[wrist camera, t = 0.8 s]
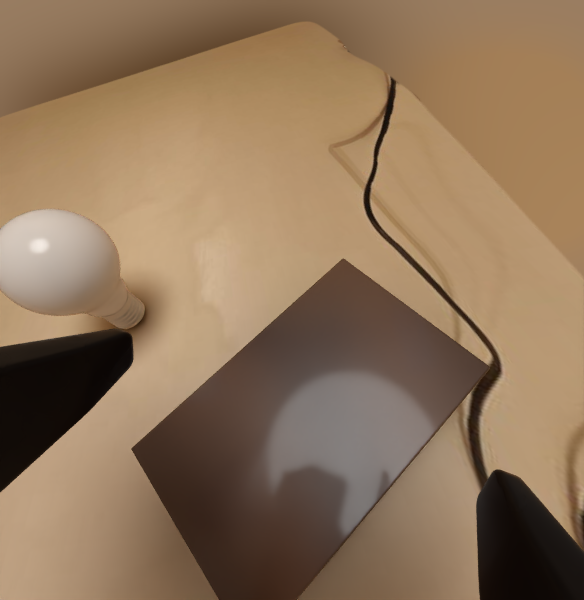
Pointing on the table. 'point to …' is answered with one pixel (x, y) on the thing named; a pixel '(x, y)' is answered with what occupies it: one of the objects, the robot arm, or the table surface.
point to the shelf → (304, 434)
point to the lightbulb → (64, 268)
